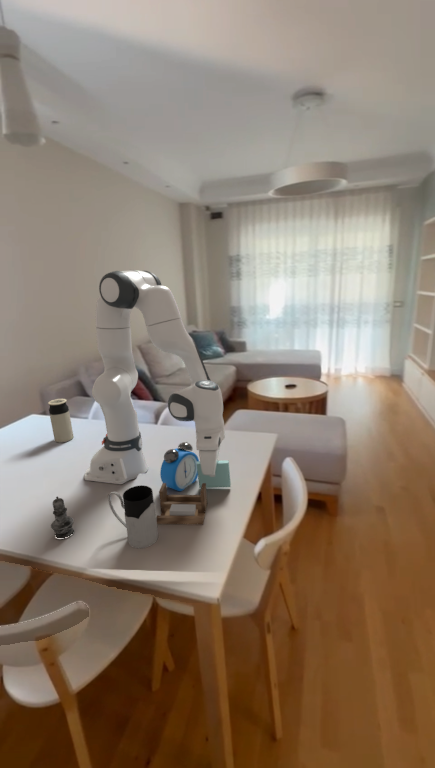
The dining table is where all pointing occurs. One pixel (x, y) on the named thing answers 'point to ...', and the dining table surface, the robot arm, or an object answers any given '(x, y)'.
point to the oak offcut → (169, 512)
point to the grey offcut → (182, 510)
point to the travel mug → (60, 420)
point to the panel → (220, 477)
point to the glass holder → (138, 515)
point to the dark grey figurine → (61, 520)
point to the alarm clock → (179, 467)
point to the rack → (182, 499)
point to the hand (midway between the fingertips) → (213, 473)
